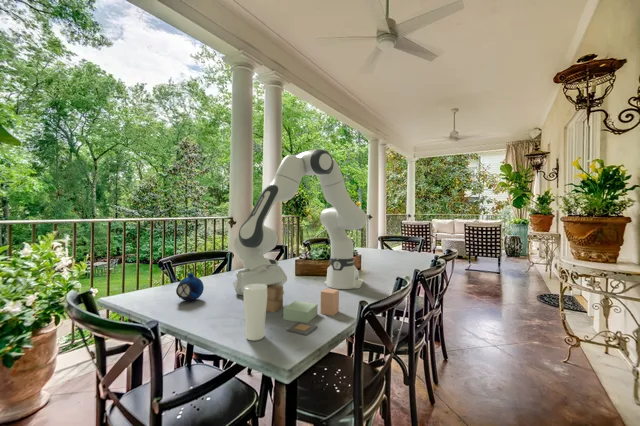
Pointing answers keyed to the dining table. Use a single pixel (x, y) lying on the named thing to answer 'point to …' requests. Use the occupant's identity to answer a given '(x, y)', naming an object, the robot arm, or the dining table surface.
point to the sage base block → (300, 311)
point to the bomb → (190, 287)
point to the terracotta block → (329, 301)
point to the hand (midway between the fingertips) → (273, 297)
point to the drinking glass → (255, 310)
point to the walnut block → (274, 298)
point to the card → (302, 328)
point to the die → (238, 287)
